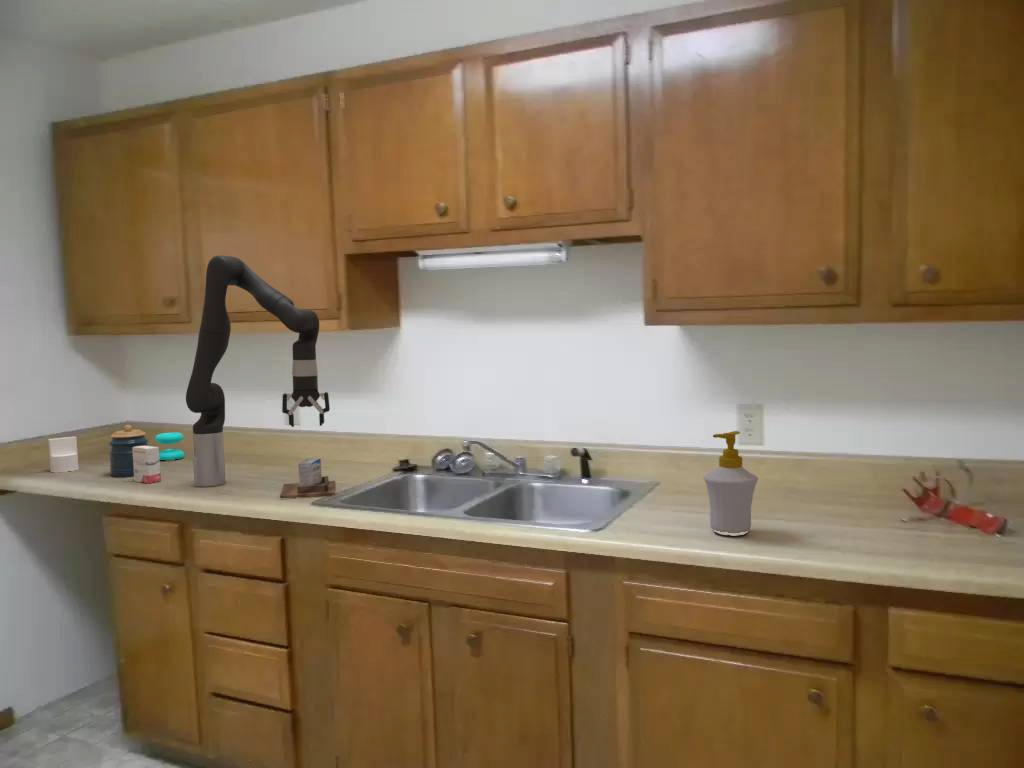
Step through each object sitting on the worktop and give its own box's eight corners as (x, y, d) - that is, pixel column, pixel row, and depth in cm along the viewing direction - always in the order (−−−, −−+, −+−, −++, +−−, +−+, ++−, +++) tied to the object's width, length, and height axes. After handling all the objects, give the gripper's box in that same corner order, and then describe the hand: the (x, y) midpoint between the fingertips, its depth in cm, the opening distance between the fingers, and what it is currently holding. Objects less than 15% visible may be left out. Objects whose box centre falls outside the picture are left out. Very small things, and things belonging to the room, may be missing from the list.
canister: (146, 469, 299) (144, 421, 297) (154, 474, 288) (151, 424, 286) (107, 473, 291) (104, 424, 290) (113, 479, 281) (110, 428, 279)
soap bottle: (692, 531, 200) (692, 431, 197) (729, 523, 206) (729, 426, 204) (731, 543, 189) (732, 437, 187) (769, 534, 196) (769, 432, 193)
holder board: (280, 499, 244) (279, 489, 244) (284, 486, 262) (283, 477, 262) (334, 495, 248) (334, 485, 247) (335, 483, 265) (334, 474, 265)
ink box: (161, 481, 275) (159, 446, 274) (148, 483, 271) (146, 448, 270) (146, 478, 280) (144, 444, 279) (133, 481, 276) (131, 446, 275)
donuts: (161, 432, 323) (186, 431, 323) (163, 457, 323) (188, 456, 324) (150, 436, 313) (177, 435, 313) (152, 461, 313) (178, 461, 314)
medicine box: (313, 490, 251) (311, 462, 250) (299, 490, 251) (298, 462, 250) (322, 485, 258) (321, 458, 258) (308, 485, 259) (307, 458, 258)
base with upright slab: (76, 467, 305) (74, 435, 304) (80, 470, 298) (78, 438, 297) (48, 470, 300) (46, 438, 299) (52, 474, 293) (50, 440, 292)
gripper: (328, 372, 258) (330, 423, 260) (282, 374, 256) (284, 425, 257) (328, 374, 251) (329, 426, 253) (280, 375, 248) (282, 428, 250)
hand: (306, 426), depth 255 cm, fingers open, 8 cm apart
